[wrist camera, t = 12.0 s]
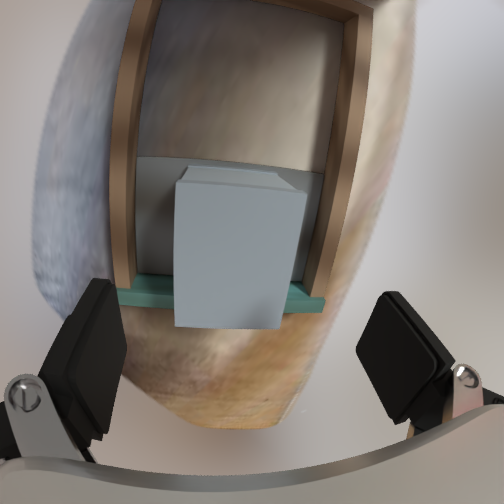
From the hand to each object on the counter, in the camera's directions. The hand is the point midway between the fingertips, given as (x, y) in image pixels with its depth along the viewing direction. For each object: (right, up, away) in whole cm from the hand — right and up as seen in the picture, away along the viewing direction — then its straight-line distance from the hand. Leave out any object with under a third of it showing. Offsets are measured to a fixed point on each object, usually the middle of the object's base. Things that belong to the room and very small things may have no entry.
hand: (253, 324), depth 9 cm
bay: (-1, +11, +9) cm, 14 cm away
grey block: (-2, +5, +11) cm, 12 cm away
